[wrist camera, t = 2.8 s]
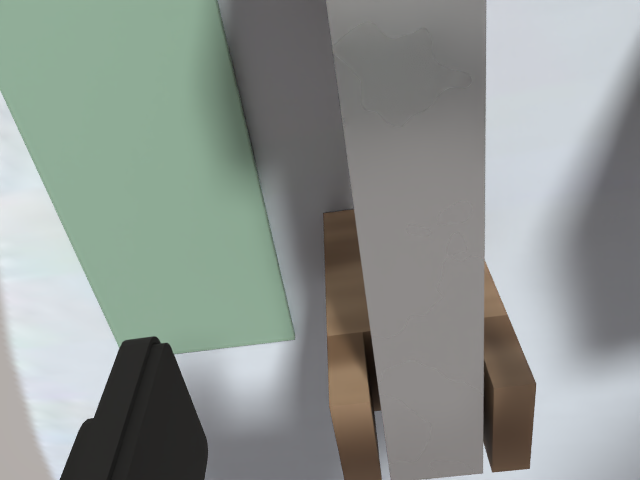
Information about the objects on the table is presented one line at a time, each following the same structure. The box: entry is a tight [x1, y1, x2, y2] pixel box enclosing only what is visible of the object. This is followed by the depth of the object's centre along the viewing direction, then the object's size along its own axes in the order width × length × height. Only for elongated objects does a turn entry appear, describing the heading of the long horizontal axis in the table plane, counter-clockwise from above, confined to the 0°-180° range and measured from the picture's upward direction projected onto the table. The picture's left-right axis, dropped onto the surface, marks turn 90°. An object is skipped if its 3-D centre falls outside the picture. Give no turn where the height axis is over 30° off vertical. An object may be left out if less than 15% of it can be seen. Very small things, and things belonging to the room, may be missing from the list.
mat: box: [0, 0, 295, 354], centre depth 24 cm, size 26×9×1 cm, turn 8°
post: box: [323, 209, 536, 480], centre depth 23 cm, size 4×6×11 cm, turn 99°
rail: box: [326, 0, 486, 480], centre depth 15 cm, size 20×3×3 cm, turn 8°
